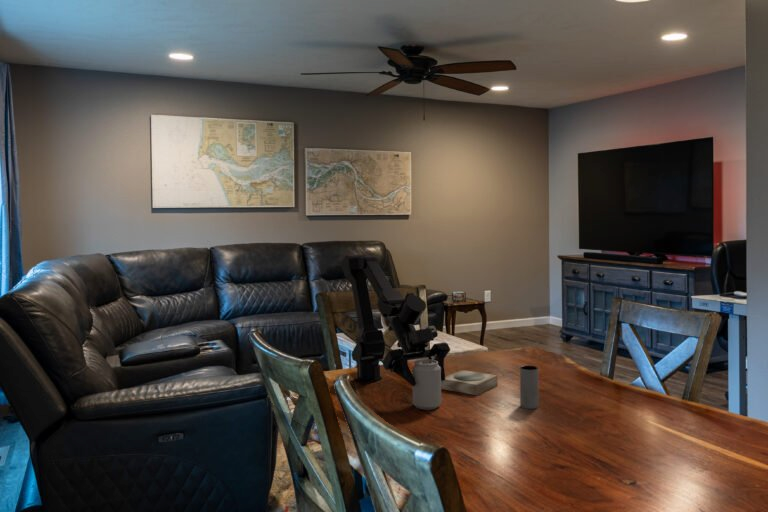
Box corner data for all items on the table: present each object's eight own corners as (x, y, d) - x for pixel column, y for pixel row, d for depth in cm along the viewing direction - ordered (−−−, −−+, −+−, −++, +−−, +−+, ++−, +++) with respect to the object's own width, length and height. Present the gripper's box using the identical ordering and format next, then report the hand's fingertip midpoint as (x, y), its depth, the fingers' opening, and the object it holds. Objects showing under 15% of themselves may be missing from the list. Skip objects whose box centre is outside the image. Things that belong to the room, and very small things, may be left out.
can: (441, 402, 165) (440, 358, 164) (441, 410, 158) (440, 364, 157) (413, 401, 166) (412, 358, 165) (412, 410, 158) (411, 364, 158)
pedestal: (440, 388, 178) (440, 377, 178) (462, 379, 188) (462, 369, 187) (477, 395, 171) (477, 384, 171) (497, 385, 180) (497, 374, 180)
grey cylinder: (518, 407, 159) (518, 368, 158) (523, 402, 163) (522, 364, 162) (535, 410, 157) (535, 370, 156) (540, 405, 161) (539, 366, 160)
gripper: (387, 319, 159) (410, 370, 150) (446, 313, 168) (471, 360, 160) (373, 344, 166) (394, 394, 158) (430, 337, 176) (453, 383, 167)
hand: (429, 382), depth 160 cm, fingers open, 9 cm apart
